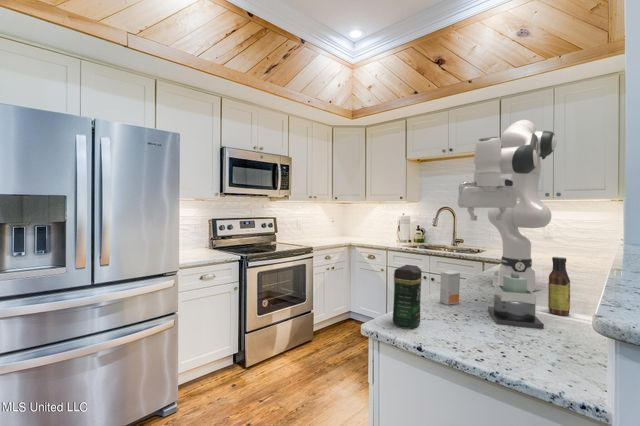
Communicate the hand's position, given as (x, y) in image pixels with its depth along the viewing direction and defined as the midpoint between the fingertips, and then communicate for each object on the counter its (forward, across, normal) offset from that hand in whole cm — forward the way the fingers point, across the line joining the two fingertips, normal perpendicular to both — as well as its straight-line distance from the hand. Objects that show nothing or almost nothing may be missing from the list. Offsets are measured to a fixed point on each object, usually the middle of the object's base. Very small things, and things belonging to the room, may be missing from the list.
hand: (486, 220), depth 117 cm
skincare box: (+33, -10, +8) cm, 35 cm away
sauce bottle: (+33, +24, -4) cm, 41 cm away
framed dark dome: (+32, +4, -10) cm, 34 cm away
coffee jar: (+32, -33, -14) cm, 48 cm away
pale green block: (+26, +4, -10) cm, 28 cm away
